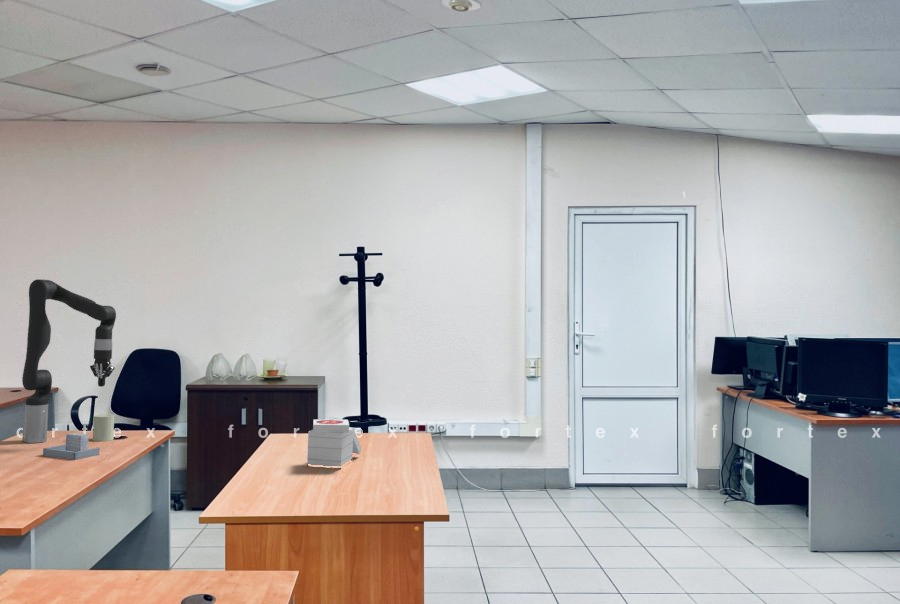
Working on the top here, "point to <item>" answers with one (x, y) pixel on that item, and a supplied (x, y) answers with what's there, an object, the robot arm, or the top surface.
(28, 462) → the top surface
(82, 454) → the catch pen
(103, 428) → the can
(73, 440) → the medicine box
